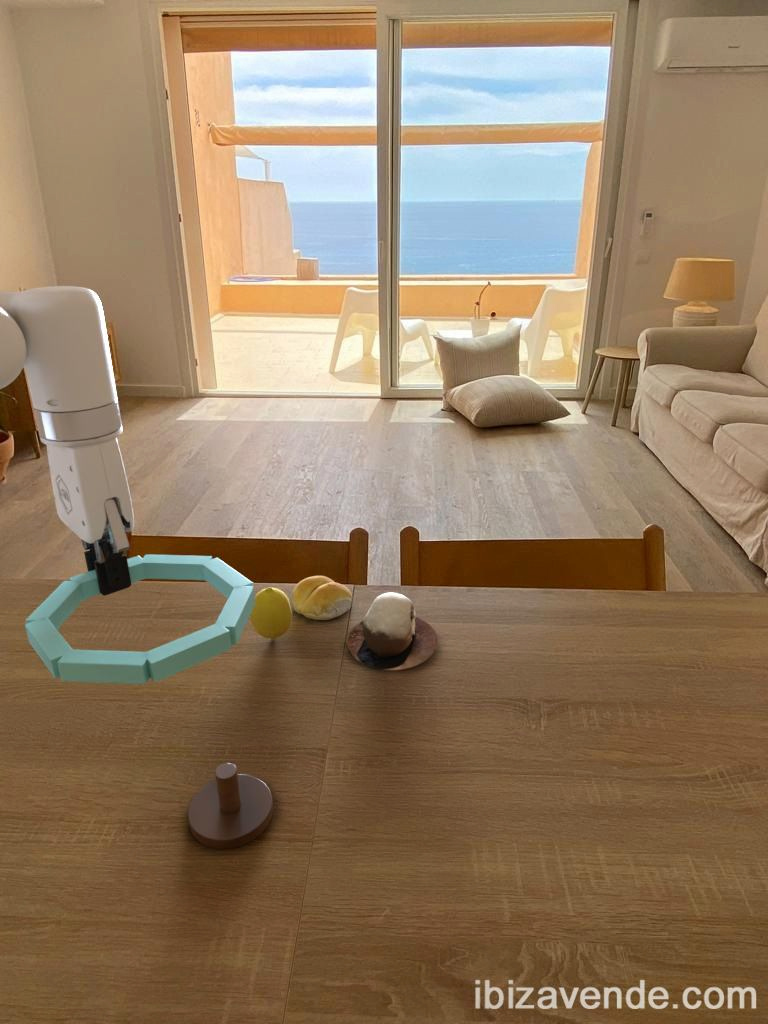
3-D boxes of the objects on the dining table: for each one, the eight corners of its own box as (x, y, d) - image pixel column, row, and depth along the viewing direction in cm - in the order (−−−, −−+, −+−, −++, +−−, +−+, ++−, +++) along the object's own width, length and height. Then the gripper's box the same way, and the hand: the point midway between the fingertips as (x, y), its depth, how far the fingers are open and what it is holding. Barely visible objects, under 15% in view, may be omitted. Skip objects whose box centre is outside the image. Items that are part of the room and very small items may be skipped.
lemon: (245, 646, 93) (239, 594, 90) (265, 624, 98) (260, 574, 95) (282, 654, 91) (277, 601, 88) (300, 631, 96) (297, 581, 93)
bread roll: (322, 585, 108) (321, 562, 106) (361, 606, 102) (360, 583, 100) (279, 605, 103) (277, 581, 101) (317, 629, 97) (316, 604, 95)
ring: (80, 715, 56) (76, 695, 55) (9, 615, 70) (5, 597, 69) (288, 624, 68) (287, 606, 67) (192, 553, 82) (190, 538, 81)
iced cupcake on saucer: (359, 604, 100) (405, 564, 95) (409, 655, 101) (457, 618, 96) (325, 648, 90) (375, 606, 85) (381, 704, 90) (434, 666, 85)
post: (216, 865, 62) (209, 819, 60) (174, 812, 68) (166, 769, 66) (289, 815, 67) (285, 771, 65) (244, 770, 73) (239, 729, 70)
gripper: (14, 411, 71) (51, 570, 78) (68, 448, 60) (104, 629, 67) (88, 398, 75) (116, 550, 83) (151, 431, 64) (176, 602, 72)
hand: (110, 584), depth 75 cm, fingers closed on ring, 2 cm apart
